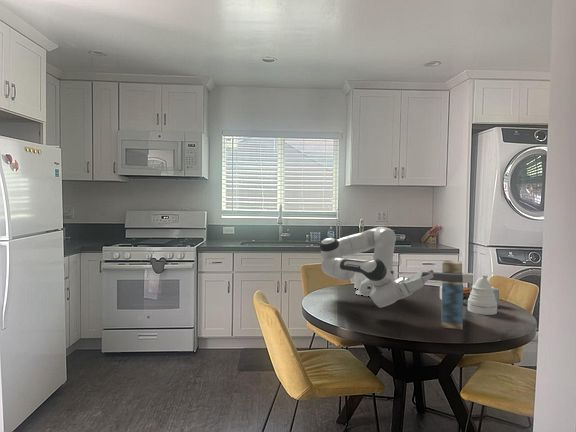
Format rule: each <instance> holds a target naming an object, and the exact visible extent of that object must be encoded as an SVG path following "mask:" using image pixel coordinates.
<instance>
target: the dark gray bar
mask: <svg viewBox="0 0 576 432" xmlns="http://www.w3.org/2000/svg"><path fill="white" fill-rule="evenodd" d="M422 272H423V277H425V276H427V275H428V274H431V273H432V274H433V275H434V277H433V278H431V279H429V280H428V281H438V282H442V281H450V282H463V284H474V273H473V272H462V274H452V273H442V272H435V271H434V272H427V271H422Z"/></svg>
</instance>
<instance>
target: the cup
mask: <svg viewBox="0 0 576 432" xmlns="http://www.w3.org/2000/svg"><path fill="white" fill-rule="evenodd" d="M352 278H353V279H354V287H353V289H354V288H356V289H355V290H357V289H359V287H360V283H361V282H362V281H363V280H365V279H366V278H367V277H366V276H365V275H364V274H362V273H355V274H354V276H353V277H352Z"/></svg>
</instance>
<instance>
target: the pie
mask: <svg viewBox="0 0 576 432" xmlns="http://www.w3.org/2000/svg"><path fill="white" fill-rule="evenodd" d="M471 291H472V289H470V288H469V287H467V286H463V299H464V297H465V298H469V295H470V292H471Z"/></svg>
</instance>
